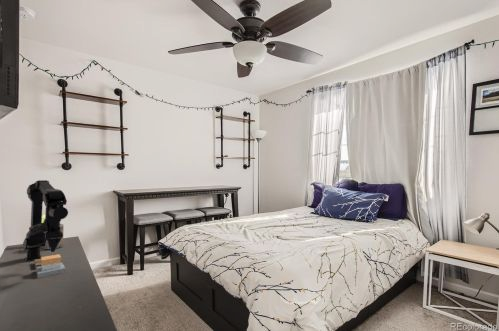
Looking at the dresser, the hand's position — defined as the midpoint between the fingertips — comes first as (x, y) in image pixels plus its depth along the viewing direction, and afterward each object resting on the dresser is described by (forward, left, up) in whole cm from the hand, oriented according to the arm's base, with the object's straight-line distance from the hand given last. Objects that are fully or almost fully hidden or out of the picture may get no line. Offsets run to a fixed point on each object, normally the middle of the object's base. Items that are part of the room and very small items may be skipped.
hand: (51, 249), depth 120 cm
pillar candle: (-44, +5, -11) cm, 46 cm away
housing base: (0, 0, -9) cm, 9 cm away
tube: (-54, -1, -11) cm, 55 cm away
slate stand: (0, 0, -11) cm, 11 cm away
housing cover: (0, 0, -6) cm, 6 cm away
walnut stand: (-13, 0, -11) cm, 17 cm away
